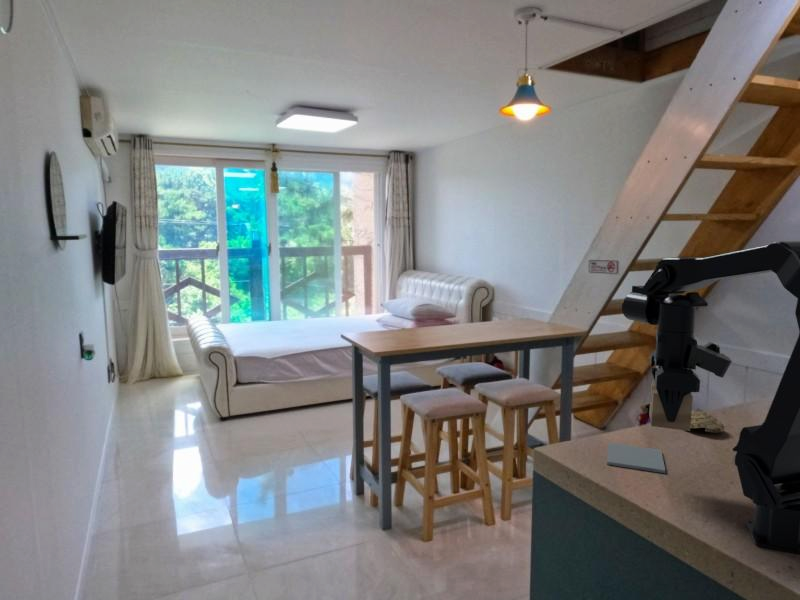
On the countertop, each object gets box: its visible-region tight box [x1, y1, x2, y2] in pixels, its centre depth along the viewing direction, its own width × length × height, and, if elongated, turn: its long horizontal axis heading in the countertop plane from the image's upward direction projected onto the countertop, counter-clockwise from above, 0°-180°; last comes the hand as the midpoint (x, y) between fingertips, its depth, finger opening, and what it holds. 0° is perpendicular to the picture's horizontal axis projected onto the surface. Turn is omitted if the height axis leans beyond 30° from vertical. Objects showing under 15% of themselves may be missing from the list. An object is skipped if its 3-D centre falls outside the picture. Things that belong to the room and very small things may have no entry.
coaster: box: [606, 442, 666, 474], centre depth 103 cm, size 10×10×1 cm
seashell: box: [690, 408, 726, 434], centre depth 118 cm, size 8×6×8 cm
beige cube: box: [648, 383, 694, 432], centre depth 92 cm, size 6×6×6 cm
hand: (669, 415), depth 93 cm, fingers closed on beige cube, 6 cm apart
